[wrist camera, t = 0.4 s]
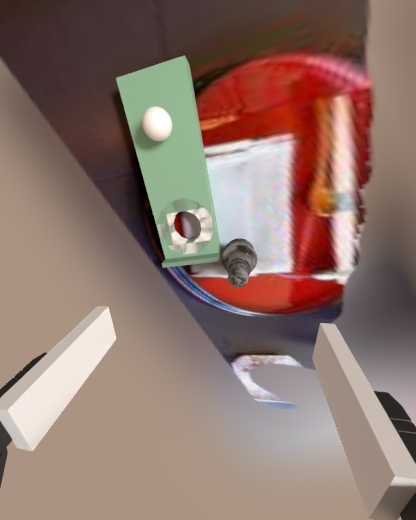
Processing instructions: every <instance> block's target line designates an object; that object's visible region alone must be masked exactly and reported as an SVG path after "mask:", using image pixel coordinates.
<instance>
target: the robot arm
mask: <svg viewBox="0 0 416 520" xmlns="http://www.w3.org/2000/svg"><path fill="white" fill-rule="evenodd" d="M115 340H116V335H115V331H114V327H113V323H112V319H111V315H110V311H109V307H107V306H97V307H96V308H95V309H94V310H93V311H92V312H91V313H90V314H89V315H88V316H86V317H85V318H84V320H82V321H81V322H80V323H79V324H78V325H77V326H76V327H75V328H74V329H73V330H72V331H71V332H70V333H69V334H67V335H66V336H65V337H64V338H63V339H62V340H61V341H60V342H59V343H58V344H57V345H56V346H55V347H54V348H53V349H52V350H50V351H49V352H48V353H43V354H42V355H40V356H39V357H37V358H35V359H34V360H32V361H31V362H30V363H29V364H28V365H27V366H26V367H24V368H23V370H22V371H20V372H19V373H18V374H17V375H16V376H15V378H12V379H11V380H10V381H9V382H8V383H7V384H6V385H5V386H4V387H2V388H1V389H0V486H1V482H2V477H3V472H4V468H5V463H6V458H7V448H6V447H7V446H8V445H9V443H10V442H11V441H13V442H14V444H15V445H16V447H17V448H19V449H24V450H29V451H33V450H34V449H35V447H36V446H37V444H38V443H39V442H40V441H41V439H42V438H43V437H44V435H45V434H46V433H47V431H48V430H49V429H50V427H51V426H52V424H53V423H54V422H55V421H56V419H57V418H58V417H59V415H60V414H61V412H62V411H63V410H64V409H65V407H66V406H67V404H68V403H69V402H70V400H71V399H72V398H73V396H74V395H75V394H76V392H77V391H78V390H79V388H80V387H81V386H82V384H83V383H84V382H85V380H86V379H87V378H88V376H89V375H90V374H91V372H92V371H93V369H94V368H95V367H96V366H97V364H98V363H99V362H100V360H101V359H102V357H103V356H104V355H105V353H106V352H107V351H108V349H109V348H110V347H111V345H112V344H113V343H114V341H115ZM312 360H313V363H314V365H315V368H316V371H317V374H318V377H319V379H320V382H321V385H322V388H323V391H324V394H325V396H326V399H327V402H328V405H329V408H330V410H331V413H332V416H333V419H334V422H335V424H336V427H337V430H338V433H339V436H340V439H341V441H342V444H343V447H344V450H345V453H346V455H347V458H348V461H349V464H350V467H351V470H352V472H353V475H354V478H355V481H356V484H357V487H358V489H359V492H360V495H361V498H362V501H363V503H364V506H365V509H366V512H367V515H368V518H369V519H373V520H398V518H399V517H400V516H401V518H402V520H416V427H415V425H414V424H413V423H412V422H411V419H410V418H409V416H408V415H407V413H406V412H405V410H404V409H403V407H402V406H401V405H400V404H399V403H398V402H397V401H396V400H395V399H394V398H393V397H392V396H391V395H390V394H389V393H386V392H377V391H373V389H372V388H371V386H370V384H369V382H368V381H367V379H366V377H365V376H364V374H363V372H362V370H361V369H360V367H359V365H358V363H357V362H356V360H355V358H354V357H353V355H352V353H351V351H350V350H349V348H348V346H347V345H346V343H345V341H344V339H343V337H342V336H341V334H340V332H339V331H338V329H337V327H336V325H335V324H326V323H320V327H319V331H318V335H317V340H316V344H315V349H314V353H313V357H312Z"/></svg>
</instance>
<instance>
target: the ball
mask: <svg viewBox="0 0 416 520" xmlns="http://www.w3.org/2000/svg"><path fill="white" fill-rule="evenodd" d="M142 126H143V129H144V131H145V133H146V135H147V136H148V137H149V138H151V139H152V140H155V141H163V140H165V139H167V138H168V137H169V135H170V134H171V131H172V120H171V118H170V116H169V114H168V113H167V112H166V111H165V110H164V109H163V108H161V107H157V106H153V107H150V108H148V109H147V110H146V111H145V112H144V114H143V117H142Z"/></svg>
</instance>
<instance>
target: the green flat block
mask: <svg viewBox="0 0 416 520" xmlns="http://www.w3.org/2000/svg"><path fill="white" fill-rule="evenodd" d="M116 80H117V84H118V88H119V91H120V95H121V98H122V102H123V106H124V109H125V113H126V117H127V120H128V124H129V128H130V131H131V135H132V139H133V142H134V146H135V149H136V153H137V157H138V160H139V164H140V168H141V171H142V175H143V179H144V182H145V186H146V190H147V193H148V197H149V201H150V204H151V208H152V211H153V215H154V219H155V222H156V226H157V230H158V233H159V237H160V241H161V244H162V248H163V252H164V255H165V261H164V262H163V263H162V266H163V268H165V267H174V266H183V265H192V264H201V263H210V262H219V259H220V255H221V247H220V241H219V235H218V229H217V223H216V218H215V212H214V206H213V200H212V194H211V188H210V183H209V177H208V171H207V165H206V159H205V153H204V148H203V142H202V136H201V130H200V124H199V119H198V113H197V107H196V101H195V95H194V89H193V84H192V78H191V72H190V66H189V63H188V61H187V59H186V57H185V56H182V57H178V58H175V59H172V60H169V61H166V62H163V63H160V64H157V65H154V66H151V67H148V68H145V69H142V70H139V71H136V72H133V73H130V74H127V75H124V76H121V77H118V78H116ZM153 106H157V107H161V108H163V109H164V110H165V111H166V112H167V113H168V114H169V116H170V118H171V120H172V131H171V134H170V135H169V137H168V138H167V139H165V140H163V141H155V140H152V139H151V138H149V137H148V136H147V135H146V133H145V131H144V129H143V126H142V117H143V114H144V112H145V111H146V110H147V109H148V108H150V107H153ZM182 211H187V212H190V213H193V214H195V216H196V217H197V218H198V219H199V220H200V223H201V228H202V230H201V233H200V235H199V236H198V237H197V238H195V239H186V238H183V237H181V236H180V235H179V234H178V233H177V232H176V231H175V227H174V219H175V216H176V214H177V213H178V212H182Z"/></svg>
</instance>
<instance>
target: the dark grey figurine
mask: <svg viewBox="0 0 416 520" xmlns="http://www.w3.org/2000/svg"><path fill="white" fill-rule="evenodd" d="M222 263H223V266H224V268H225V269H226V270H227V272H228V274H229V275H228V279H229V282H230V284H231V285H233V286H234V287H243V286H245V285H246V284H247V282H248V276H249V274H250V272H251V271H253V269H254V268H255V266H256V264H257V255H256V253H255V251H254V248H253V245H252V244H251V243H250V242H249V241H247V240H245V239H235V240H233V241H231V242H230V243H229V244H228V245H227V247H226V249H225V251H224V252H223V255H222Z"/></svg>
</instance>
